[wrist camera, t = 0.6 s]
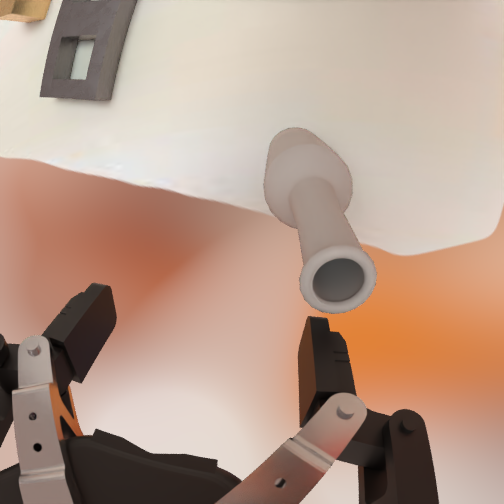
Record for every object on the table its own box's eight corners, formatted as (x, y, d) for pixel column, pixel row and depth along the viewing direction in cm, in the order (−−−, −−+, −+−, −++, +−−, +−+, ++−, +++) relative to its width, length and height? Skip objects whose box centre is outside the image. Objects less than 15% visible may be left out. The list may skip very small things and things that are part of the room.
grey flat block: (95, -37, 22) (81, -45, 19) (154, -44, 23) (142, -55, 19) (56, 95, 32) (39, 97, 29) (110, 99, 33) (94, 100, 29)
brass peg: (35, -1, 24) (2, -7, 17) (52, -5, 24) (20, -14, 17) (27, 22, 26) (-6, 19, 19) (44, 19, 26) (10, 13, 19)
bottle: (266, 178, 37) (242, 348, 12) (269, 125, 34) (245, 180, 9) (320, 182, 36) (398, 351, 11) (325, 130, 33) (448, 201, 8)
